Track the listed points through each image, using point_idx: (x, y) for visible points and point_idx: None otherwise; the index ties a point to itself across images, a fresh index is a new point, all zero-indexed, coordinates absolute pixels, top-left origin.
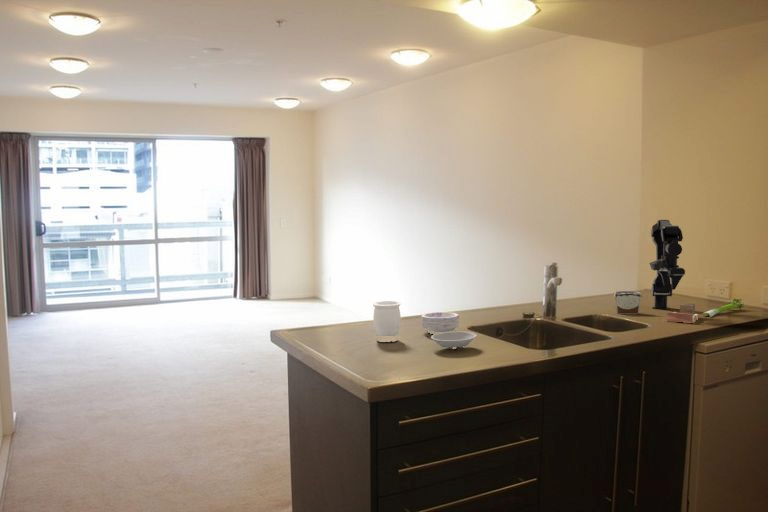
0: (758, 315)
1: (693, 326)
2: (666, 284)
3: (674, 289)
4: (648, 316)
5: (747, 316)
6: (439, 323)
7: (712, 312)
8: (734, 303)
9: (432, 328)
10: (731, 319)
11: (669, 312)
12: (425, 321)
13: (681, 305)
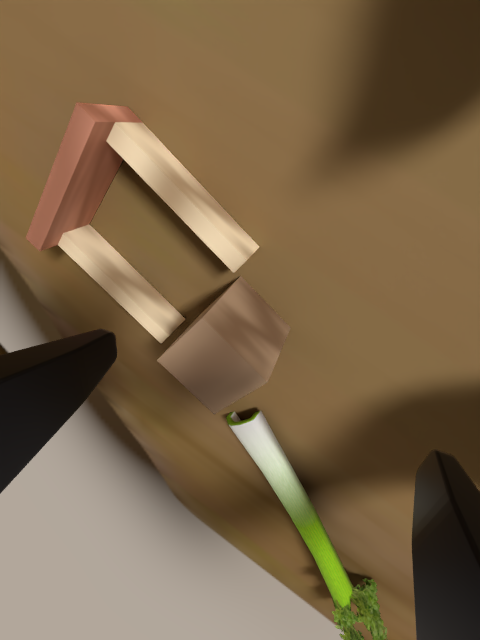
0: (239, 545)
1: (15, 190)
2: (421, 500)
3: (107, 350)
4: (357, 47)
5: (227, 514)
6: None
7: (250, 455)
8: (338, 610)
9: None
10: (177, 438)
11: (74, 122)
12: None
13: (198, 320)
